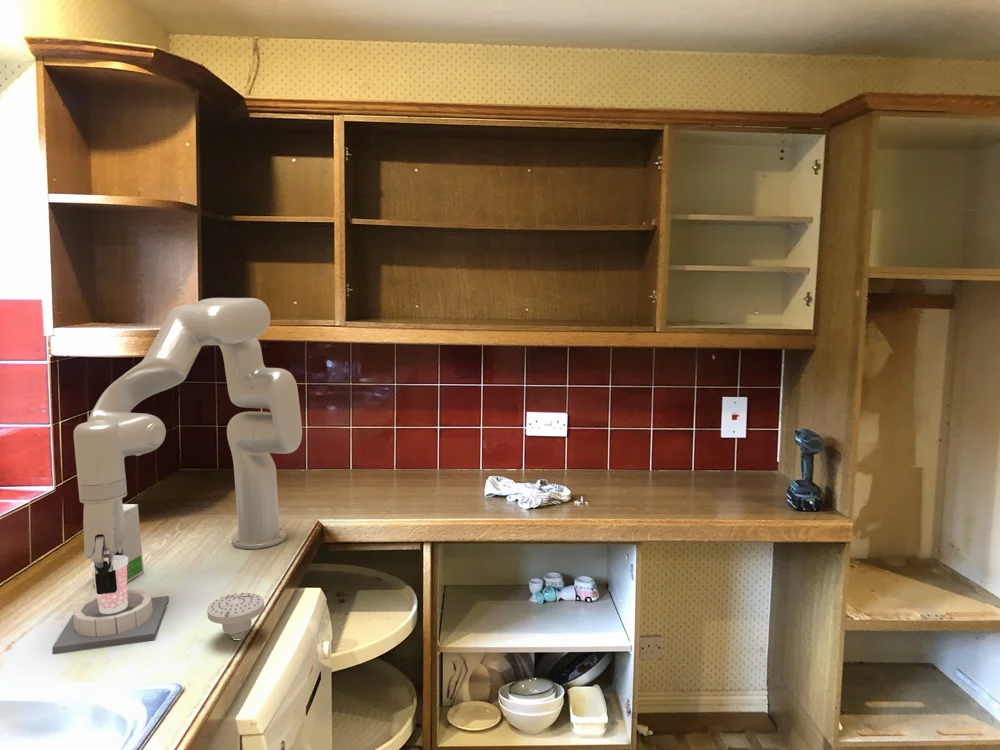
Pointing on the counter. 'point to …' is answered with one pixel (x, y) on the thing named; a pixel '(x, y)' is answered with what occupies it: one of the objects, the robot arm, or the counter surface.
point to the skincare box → (131, 542)
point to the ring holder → (112, 623)
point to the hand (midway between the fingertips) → (111, 584)
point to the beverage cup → (119, 598)
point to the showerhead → (235, 612)
